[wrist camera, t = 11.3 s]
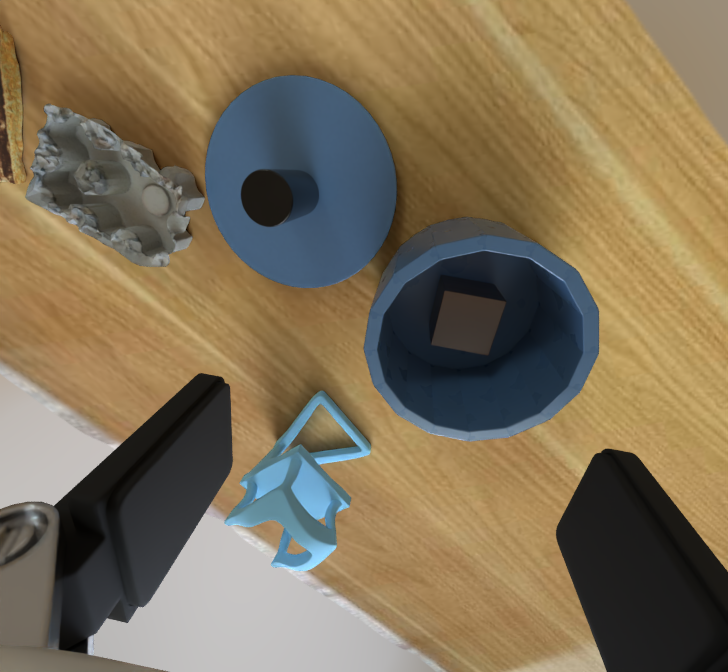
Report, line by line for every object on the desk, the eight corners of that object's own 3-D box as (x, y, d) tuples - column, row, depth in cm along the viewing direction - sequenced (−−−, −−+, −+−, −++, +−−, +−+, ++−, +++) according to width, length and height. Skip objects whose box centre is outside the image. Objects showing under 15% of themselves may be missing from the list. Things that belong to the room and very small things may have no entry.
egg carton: (216, 185, 27) (185, 187, 23) (184, 268, 30) (151, 282, 26) (82, 98, 26) (25, 85, 22) (62, 194, 29) (10, 198, 25)
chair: (260, 426, 36) (192, 536, 25) (323, 388, 33) (277, 493, 22) (309, 478, 38) (266, 600, 27) (373, 446, 35) (353, 569, 24)
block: (440, 274, 27) (444, 290, 23) (494, 284, 27) (507, 301, 23) (428, 323, 29) (430, 345, 25) (479, 332, 28) (488, 356, 25)
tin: (394, 203, 26) (385, 217, 18) (574, 234, 25) (644, 261, 17) (367, 357, 31) (352, 418, 23) (515, 386, 30) (548, 458, 23)
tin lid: (209, 64, 24) (132, 24, 17) (415, 95, 23) (415, 65, 17) (215, 267, 30) (159, 294, 23) (380, 298, 29) (369, 334, 22)
